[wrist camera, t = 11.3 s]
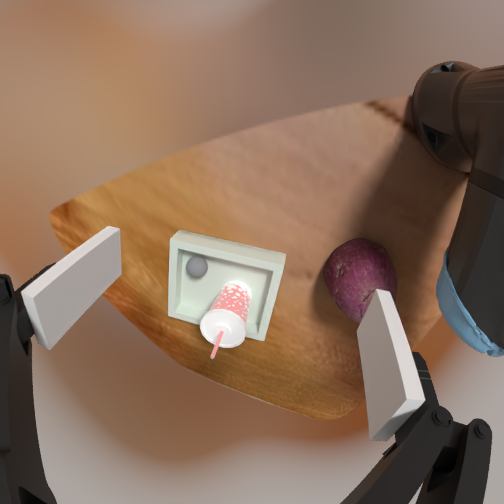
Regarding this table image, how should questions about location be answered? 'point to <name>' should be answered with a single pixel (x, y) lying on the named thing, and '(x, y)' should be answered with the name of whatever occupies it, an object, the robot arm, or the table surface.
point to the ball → (196, 267)
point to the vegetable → (359, 276)
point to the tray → (222, 278)
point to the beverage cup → (227, 317)
